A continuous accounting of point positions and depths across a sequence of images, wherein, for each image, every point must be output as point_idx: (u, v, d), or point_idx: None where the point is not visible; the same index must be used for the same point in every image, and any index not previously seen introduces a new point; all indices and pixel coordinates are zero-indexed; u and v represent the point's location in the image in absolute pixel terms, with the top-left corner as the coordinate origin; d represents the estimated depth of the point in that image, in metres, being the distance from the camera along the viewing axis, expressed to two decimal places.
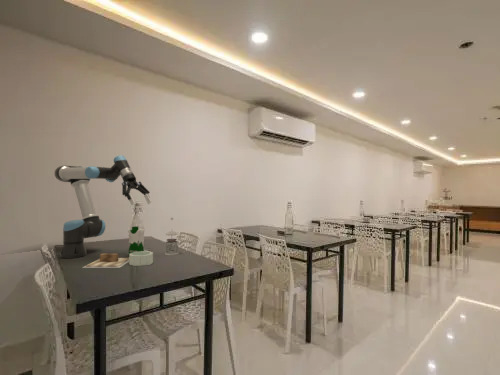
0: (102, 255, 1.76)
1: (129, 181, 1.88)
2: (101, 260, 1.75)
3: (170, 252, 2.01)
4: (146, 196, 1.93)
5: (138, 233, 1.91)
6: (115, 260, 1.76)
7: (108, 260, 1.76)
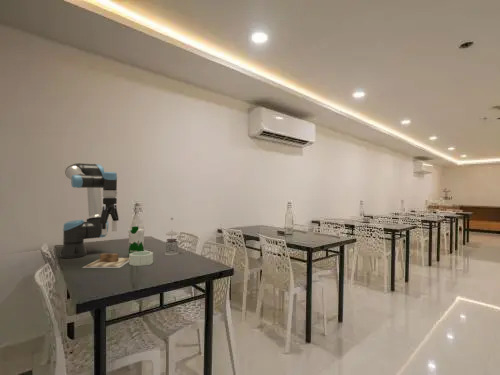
0: (102, 255, 1.76)
1: (110, 206, 1.75)
2: (101, 260, 1.75)
3: (170, 252, 2.01)
4: (114, 223, 1.83)
5: (138, 233, 1.91)
6: (115, 260, 1.76)
7: (108, 260, 1.76)
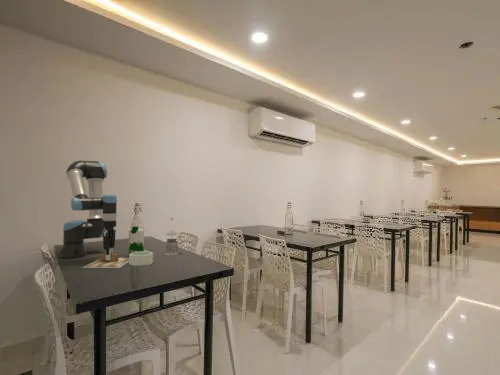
0: (102, 255, 1.76)
1: (109, 228, 1.74)
2: (101, 260, 1.76)
3: (170, 252, 2.01)
4: None
5: (138, 233, 1.91)
6: (115, 260, 1.76)
7: (108, 260, 1.76)
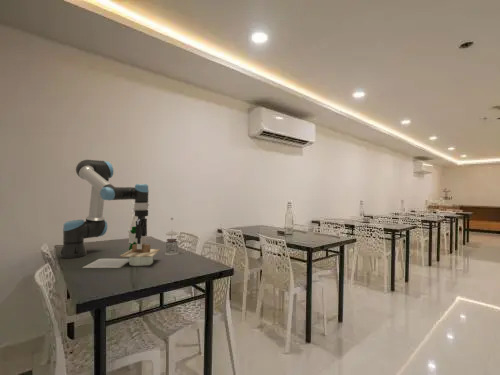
0: (134, 246, 1.76)
1: (141, 217, 1.75)
2: (133, 251, 1.76)
3: (170, 252, 2.01)
4: (143, 238, 1.81)
5: None
6: (147, 251, 1.77)
7: (140, 251, 1.76)
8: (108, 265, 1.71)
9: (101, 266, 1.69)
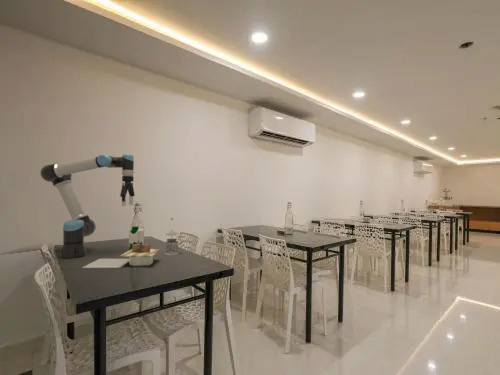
0: (134, 246, 1.76)
1: (128, 182, 2.09)
2: (133, 251, 1.76)
3: (170, 252, 2.01)
4: (131, 198, 2.17)
5: (138, 233, 1.91)
6: (147, 251, 1.77)
7: (140, 251, 1.76)
8: (108, 265, 1.71)
9: (101, 266, 1.69)
